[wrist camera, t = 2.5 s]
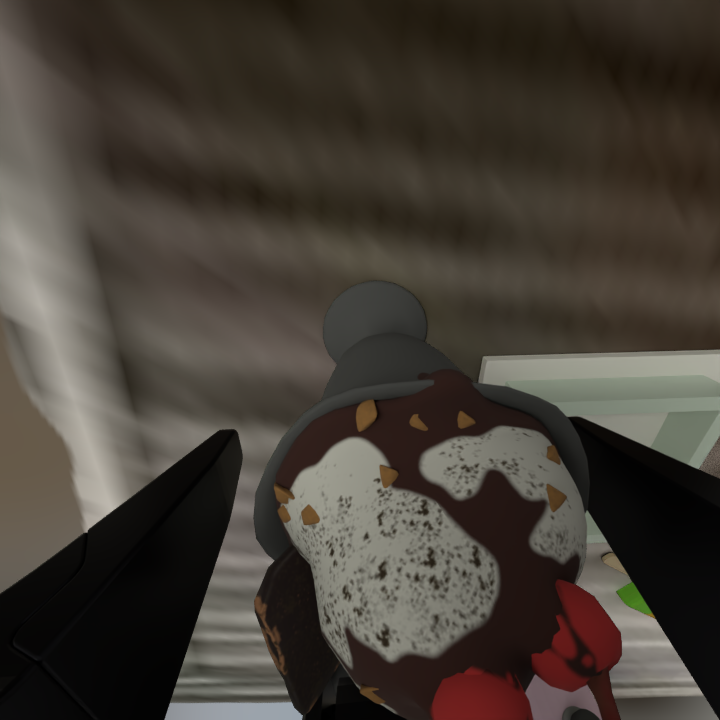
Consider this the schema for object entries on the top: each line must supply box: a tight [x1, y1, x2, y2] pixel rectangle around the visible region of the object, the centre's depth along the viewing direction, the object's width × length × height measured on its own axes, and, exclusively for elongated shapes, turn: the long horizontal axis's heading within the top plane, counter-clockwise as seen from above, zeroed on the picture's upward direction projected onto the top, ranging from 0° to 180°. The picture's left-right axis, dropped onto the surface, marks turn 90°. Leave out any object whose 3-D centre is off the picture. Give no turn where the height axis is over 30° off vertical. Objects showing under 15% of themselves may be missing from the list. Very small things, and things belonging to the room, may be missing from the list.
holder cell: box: [478, 350, 720, 543], centre depth 19 cm, size 13×13×2 cm
